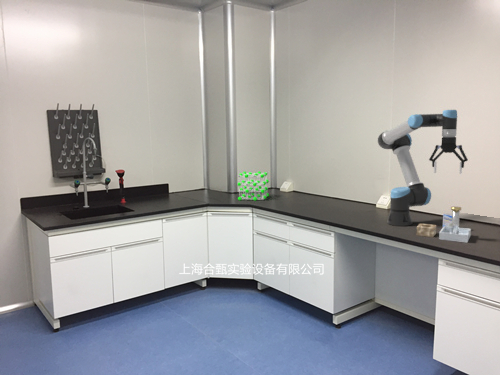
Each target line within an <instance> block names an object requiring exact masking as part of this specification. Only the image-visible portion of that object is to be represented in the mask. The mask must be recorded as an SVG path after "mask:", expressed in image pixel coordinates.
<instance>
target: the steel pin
mask: <svg viewBox="0 0 500 375" xmlns="http://www.w3.org/2000/svg"><path fill="white" fill-rule="evenodd" d="M450 210H451V211H452V212H451V214H452V233H453V234H459V228H460V211H462V207H461V206H450Z"/></svg>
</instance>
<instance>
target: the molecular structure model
mask: <svg viewBox="0 0 500 375" xmlns="http://www.w3.org/2000/svg"><path fill="white" fill-rule="evenodd" d="M237 177H238V178H242V180H238V182H237V186H238V188H239V189H238V193H239V195H240V196H239V197H237V200H238V201H242V200H243V199H246V200H253V201H257V200H258V199H261V200H262V201H264V200H266V199H267V197H270V193H269V192H268V190H269V187H268V186H267V184H268V183H270V180H269V179H268V172H267V171H266V172H261V171H257V172H252V171H251V172H247V171H243V172H240V173H239V174H238V175H237ZM252 178H253V179H252ZM260 178H261V179H260ZM255 194H256V195H255Z"/></svg>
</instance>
